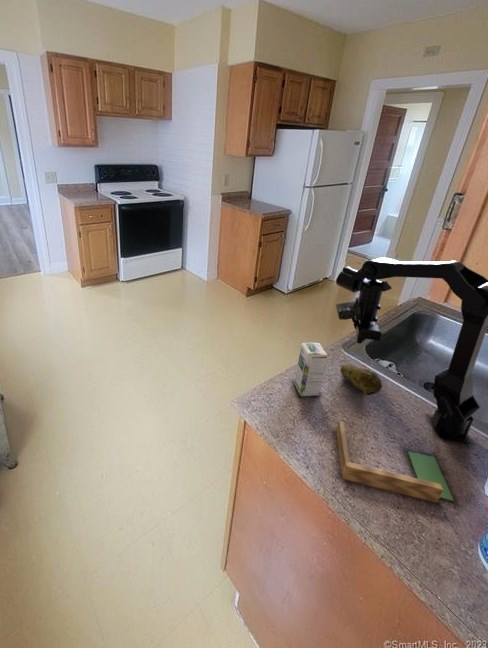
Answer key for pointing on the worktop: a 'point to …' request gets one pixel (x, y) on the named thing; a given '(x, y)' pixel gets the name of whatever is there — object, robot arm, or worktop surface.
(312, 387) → the syrup box
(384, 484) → the corner guard
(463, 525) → the worktop surface
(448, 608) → the worktop surface
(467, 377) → the robot arm
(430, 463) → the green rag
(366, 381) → the olive green tapered piece
